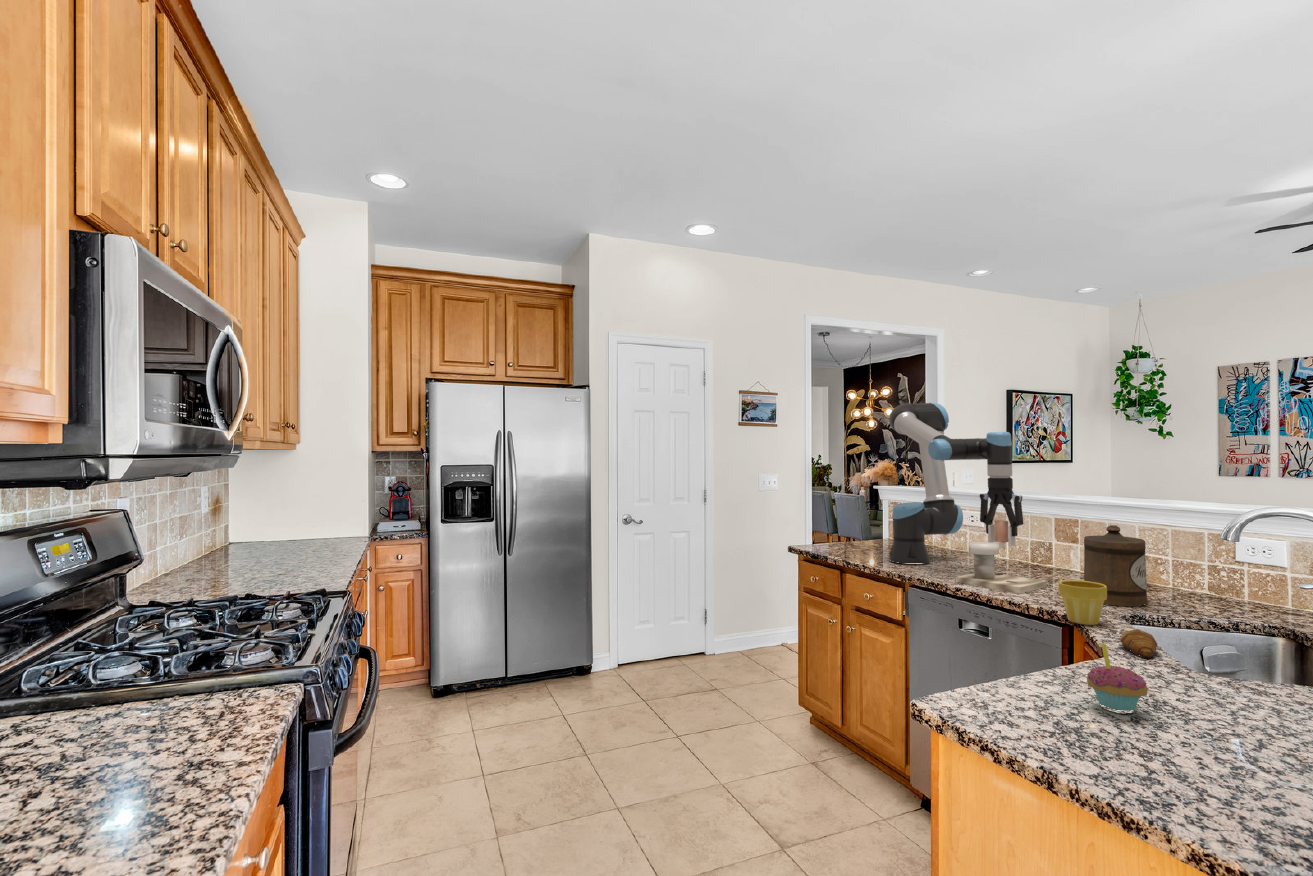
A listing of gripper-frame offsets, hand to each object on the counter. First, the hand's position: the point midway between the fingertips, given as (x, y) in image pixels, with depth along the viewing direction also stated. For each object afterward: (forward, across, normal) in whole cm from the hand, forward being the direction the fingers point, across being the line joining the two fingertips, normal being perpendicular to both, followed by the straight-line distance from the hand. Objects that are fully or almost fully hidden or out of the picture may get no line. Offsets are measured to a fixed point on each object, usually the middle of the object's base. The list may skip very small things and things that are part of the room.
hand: (1001, 544), depth 217 cm
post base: (+12, -4, +8) cm, 15 cm away
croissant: (+12, -58, +50) cm, 78 cm away
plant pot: (+12, -40, +35) cm, 55 cm away
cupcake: (+12, -69, +90) cm, 114 cm away
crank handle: (+2, 0, +7) cm, 7 cm away
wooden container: (+12, -35, +4) cm, 37 cm away
